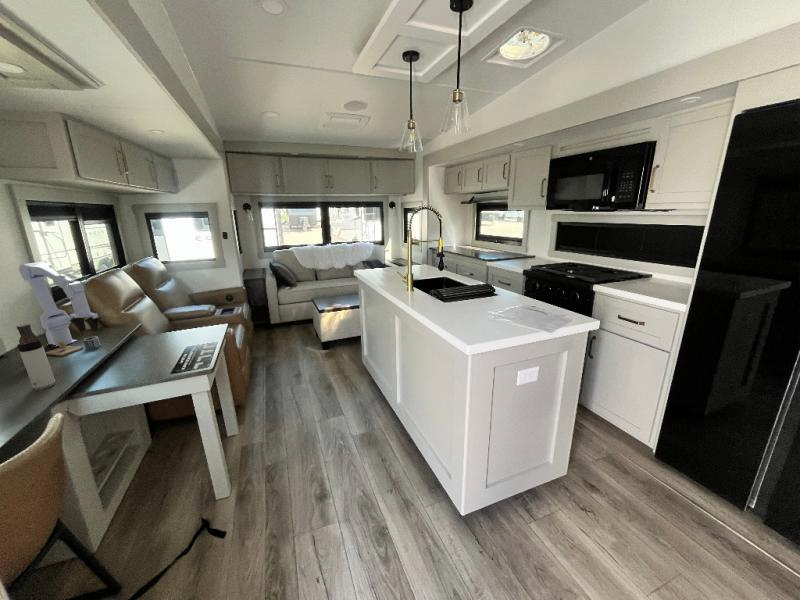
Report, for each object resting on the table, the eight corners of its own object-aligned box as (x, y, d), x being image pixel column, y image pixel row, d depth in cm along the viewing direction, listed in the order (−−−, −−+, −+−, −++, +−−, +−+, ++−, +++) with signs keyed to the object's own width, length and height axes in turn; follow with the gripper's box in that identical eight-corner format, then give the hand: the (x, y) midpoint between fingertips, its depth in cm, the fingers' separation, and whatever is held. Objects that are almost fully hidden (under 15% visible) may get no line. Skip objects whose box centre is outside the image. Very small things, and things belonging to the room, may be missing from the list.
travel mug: (36, 392, 127) (18, 345, 122) (32, 387, 131) (14, 342, 125) (58, 384, 132) (42, 339, 127) (53, 380, 136) (37, 336, 130)
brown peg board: (44, 354, 160) (40, 343, 159) (65, 347, 169) (62, 336, 167) (62, 356, 158) (58, 345, 156) (83, 348, 166) (80, 338, 165)
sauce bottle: (51, 363, 151) (37, 323, 146) (33, 369, 146) (18, 328, 140) (43, 361, 154) (29, 322, 148) (25, 367, 148) (9, 326, 142)
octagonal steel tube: (83, 349, 166) (80, 340, 165) (95, 344, 171) (92, 336, 170) (91, 349, 165) (88, 340, 163) (103, 345, 170) (100, 336, 169)
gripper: (59, 308, 159) (68, 333, 163) (83, 308, 157) (92, 334, 160) (75, 304, 166) (83, 328, 169) (98, 304, 163) (106, 329, 167)
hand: (89, 331), depth 165 cm, fingers open, 7 cm apart
